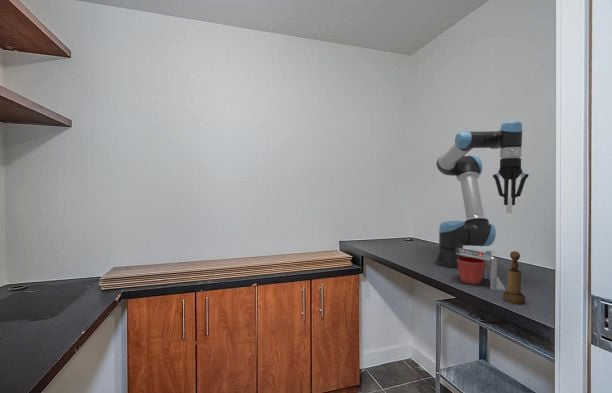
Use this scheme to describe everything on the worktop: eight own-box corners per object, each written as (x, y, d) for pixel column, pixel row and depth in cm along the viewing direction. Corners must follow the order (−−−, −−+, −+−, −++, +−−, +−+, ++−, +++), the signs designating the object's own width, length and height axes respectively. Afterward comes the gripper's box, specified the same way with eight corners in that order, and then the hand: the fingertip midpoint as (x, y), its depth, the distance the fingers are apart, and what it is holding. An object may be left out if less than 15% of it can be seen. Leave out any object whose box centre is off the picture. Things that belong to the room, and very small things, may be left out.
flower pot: (489, 286, 124) (489, 263, 123) (460, 284, 126) (461, 261, 126) (479, 278, 134) (480, 257, 134) (453, 277, 136) (454, 256, 136)
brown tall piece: (505, 302, 106) (507, 252, 105) (500, 296, 112) (501, 249, 111) (527, 305, 103) (529, 254, 103) (521, 298, 109) (522, 250, 109)
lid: (455, 249, 138) (456, 245, 138) (490, 256, 132) (491, 251, 132) (456, 254, 126) (457, 250, 126) (495, 262, 120) (495, 257, 120)
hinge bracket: (485, 277, 136) (485, 250, 136) (497, 279, 134) (498, 251, 133) (490, 290, 119) (491, 259, 118) (505, 292, 116) (506, 260, 116)
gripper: (493, 157, 126) (492, 212, 127) (531, 156, 121) (529, 214, 121) (491, 159, 133) (490, 211, 134) (527, 158, 128) (525, 213, 128)
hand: (509, 212), depth 128 cm, fingers closed
